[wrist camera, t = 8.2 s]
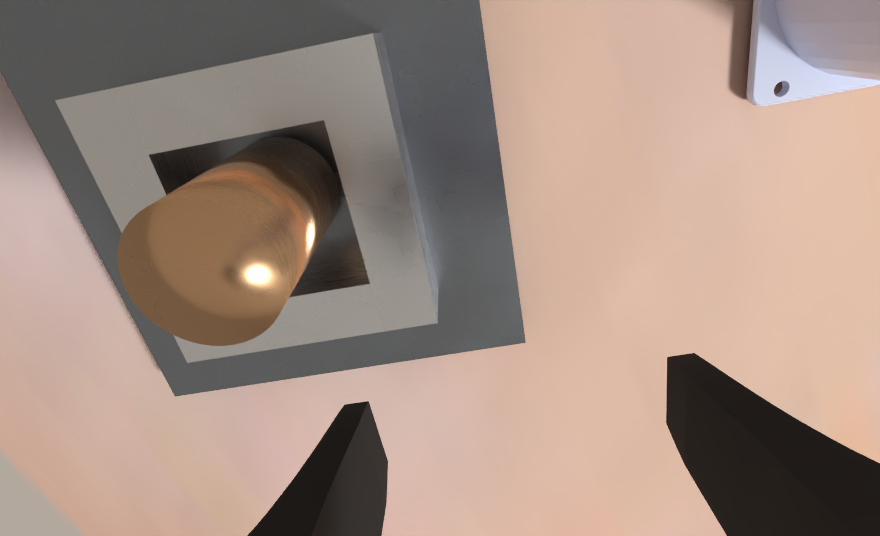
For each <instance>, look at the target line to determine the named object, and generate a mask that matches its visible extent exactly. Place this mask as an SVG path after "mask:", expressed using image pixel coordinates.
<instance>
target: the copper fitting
mask: <svg viewBox="0 0 880 536" xmlns="http://www.w3.org/2000/svg"><path fill="white" fill-rule="evenodd" d="M339 195H340V194H339V186H338V182H337V179H336V176H335V174H334V172H333V170H332V168H331V166H330V165H329V164H328V162H327V161H326V160H325V159H324V158H323V156H322V155H321V154H319V153H318V152H317V151H316V150H315V149H313V148H312V147H310V146H309V145H307V144H305V143H303V142H301V141H298V140H295V139H291V138H287V137H269V138H264V139H261V140H258V141H256V142H254V143H252V144H250V145H249V146H247V147H245V148H244V149H242V150H240V151H239V152H237V153H235V154H234V155H232V156H230V157H229V158H227V159H225V160H224V161H222V162H220V163H219V164H217V165H215V166H214V167H212V168H210V169H209V170H207V171H206V172H204V173H202V174H201V175H199V176H197V177H196V178H194V179H192V180H191V181H189V182H187V183H186V184H184V185H182V186H181V187H179V188H177V189H176V190H174V191H172V192H171V193H169V194H167V195H166V196H164V197H162V198H161V199H159V200H157V201H156V202H154V203H152V204H151V205H149V206H147V207H146V208H144V209H143V210H141V211H140V212H139V213H137V214H136V215H135V216H134V217H133V218H132V219H131V220H130V221H129V223H128V224H127V226H126V227H125V229H124V231H123V233H122V235H121V237H120V241H119V244H118V252H117V261H118V269H119V274H120V277H121V280H122V283H123V285H124V287H125V289H126V291H127V293H128V295H129V296H130V298H131V299H132V301H133V302H134V304H135V305H136V306H137V307H138V308H139V310H140V311H141V312H142V313H143V314H144V315H145V316H146V317H147V318H148V319H150V320H151V321H152V322H153V323H155V324H156V325H157V326H159V327H160V328H162V329H163V330H165V331H167V332H169V333H170V334H172V335H174V336H176V337H179V338H181V339H184V340H187V341H190V342H193V343H198V344H203V345H211V346H228V345H235V344H239V343H243V342H246V341H249V340H251V339H254V338H255V337H257V336H259V335H261V334H262V333H263V332H265V331H266V330H267V329H268V328H269V327H270V326H271V325H272V324H273V323H274V322H275V320H276V319H277V317H278V316H279V314H280V312H281V311H282V309H283V307H284V305H285V304H286V302H287V300H288V298H289V297H290V295H291V293H292V291H293V290H294V288H295V286H296V284H297V283H298V281H299V279H300V277H301V276H302V274H303V272H304V270H305V269H306V267H307V265H308V263H309V262H310V260H311V258H312V256H313V255H314V253H315V251H316V249H317V247H318V246H319V244H320V242H321V240H322V239H323V237H324V235H325V233H326V232H327V230H328V228H329V226H330V225H331V223H332V221H333V219H334V217H335V215H336V213H337V210H338V206H339Z"/></svg>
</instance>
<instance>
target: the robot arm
mask: <svg viewBox="0 0 880 536" xmlns="http://www.w3.org/2000/svg"><path fill="white" fill-rule="evenodd" d="M779 82H782V89H781V91H780V92H779V93H778V94H776V95H775V94H774V88H775V86H776V85H777V84H778V83H779ZM876 85H880V0H754V2H753V15H752V28H751V41H750V54H749V67H748V80H747V92H746V94H747V99H748V101H749V102H750V103H751V104H753V105H757V106H768V105H774V104H779V103H784V102H790V101H795V100H801V99H806V98H811V97H817V96H822V95H827V94H833V93H838V92H844V91H849V90H854V89H860V88H865V87H870V86H876ZM666 423H667V426H668V428H669V430H670V433H671V435H672V437H673V440H674V442H675V444H676V447H677V449H678V451H679V453H680V455H681V458H682V460H683V462H684V464H685V466H686V467H687V469H688V471H689V473H690V474H691V476H692V478H693V480H694V481H695V483H696V485H697V486H698V488H699V490H700V491H701V493H702V495H703V496H704V498H705V500H706V501H707V503H708V505H709V506H710V508H711V510H712V511H713V513H714V515H715V516H716V518H717V520H718V521H719V523H720V525H721V526H722V528H723V530H724V531H725V533H726V535H727V536H880V463H878V462H876V461H874V460H872V459H869V458H867V457H865V456H863V455H861V454H859V453H857V452H855V451H853V450H851V449H849V448H848V447H846V446H844V445H842V444H840V443H838V442H836V441H834V440H832V439H831V438H829V437H827V436H825V435H824V434H822V433H820V432H818V431H817V430H815V429H813V428H811V427H809V426H808V425H806V424H804V423H802V422H801V421H799V420H797V419H796V418H794V417H792V416H791V415H789V414H787V413H786V412H784V411H782V410H781V409H779V408H777V407H776V406H774V405H773V404H771V403H769V402H768V401H766V400H765V399H763V398H761V397H760V396H758V395H757V394H755V393H754V392H752V391H751V390H749V389H748V388H746V387H744V386H743V385H741V384H740V383H738V382H737V381H735V380H734V379H732V378H731V377H729V376H728V375H726V374H725V373H723V372H722V371H720V370H719V369H717V368H716V367H714V366H713V365H711V364H710V363H708V362H707V361H705V360H704V359H702V358H701V357H699V356H698V355H696V354H695V353H692V354H685V355H679V356H672V357H667V415H666ZM387 471H388V460H387V457H386V454H385V451H384V448H383V445H382V442H381V439H380V436H379V432H378V429H377V426H376V423H375V420H374V417H373V414H372V411H371V408H370V404H369V401H367V402H360V403H354V404H347V405H344V406H343V408H342V409H341V410H340V412H339V413H338V415H337V416H336V418H335V419H334V421H333V422H332V424H331V425H330V427H329V428H328V430H327V431H326V433H325V434H324V436H323V437H322V439H321V440H320V442H319V443H318V445H317V446H316V448H315V449H314V451H313V452H312V454H311V455H310V456H309V458H308V459H307V461H306V462H305V464H304V465H303V466H302V468H301V469H300V471H299V472H298V473H297V475H296V476H295V478H294V479H293V480H292V482H291V483H290V484H289V486H288V487H287V488H286V489H285V491H284V492H283V493H282V495H281V496H280V497H279V498H278V500H277V501H276V502H275V504H274V505H273V506H272V508H271V509H270V510H269V511H268V512H267V514H266V515H265V516H264V517H263V518H262V520H261V521H260V522H259V523H258V524H257V526H256V527H255V528H254V529H253V530H252V531H251V532H250V533H249V535H248V536H381V535H382V528H383V521H384V515H385V508H386V498H387Z"/></svg>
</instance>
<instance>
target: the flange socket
mask: <svg viewBox="0 0 880 536" xmlns="http://www.w3.org/2000/svg"><path fill="white" fill-rule="evenodd" d="M0 71H1V73H2V75H3V77H4V79H5V81H6V82H7V84H8V86H9V88H10V90H11V92H12V94H13V95H14V97H15V99H16V101H17V103H18V105H19V107H20V109H21V110H22V112H23V114H24V116H25V118H26V120H27V122H28V123H29V125H30V127H31V129H32V131H33V133H34V135H35V136H36V138H37V140H38V142H39V144H40V146H41V148H42V149H43V151H44V153H45V155H46V157H47V159H48V161H49V163H50V164H51V166H52V168H53V170H54V172H55V174H56V176H57V177H58V179H59V181H60V183H61V185H62V187H63V189H64V190H65V192H66V194H67V196H68V198H69V200H70V202H71V203H72V205H73V207H74V209H75V211H76V213H77V215H78V217H79V218H80V220H81V222H82V224H83V226H84V228H85V230H86V231H87V233H88V235H89V237H90V239H91V241H92V243H93V244H94V246H95V248H96V250H97V252H98V254H99V256H100V257H101V259H102V261H103V263H104V265H105V267H106V269H107V271H108V272H109V274H110V276H111V278H112V280H113V282H114V284H115V285H116V287H117V289H118V291H119V293H120V295H121V297H122V298H123V300H124V302H125V304H126V306H127V308H128V310H129V311H130V313H131V315H132V317H133V319H134V321H135V323H136V325H137V326H138V328H139V330H140V332H141V334H142V336H143V338H144V339H145V341H146V343H147V345H148V347H149V349H150V351H151V352H152V354H153V356H154V358H155V360H156V362H157V364H158V365H159V367H160V369H161V371H162V373H163V375H164V377H165V379H166V380H167V382H168V384H169V386H170V388H171V390H172V392H173V393H174V395H175V396H181V395H187V394H194V393H200V392H207V391H213V390H220V389H226V388H233V387H239V386H246V385H252V384H259V383H265V382H272V381H278V380H285V379H291V378H298V377H304V376H311V375H317V374H324V373H330V372H337V371H343V370H350V369H356V368H363V367H369V366H376V365H382V364H389V363H395V362H402V361H408V360H415V359H422V358H428V357H435V356H441V355H448V354H454V353H461V352H467V351H474V350H480V349H487V348H493V347H500V346H506V345H513V344H519V343H526V342H525V335H524V328H523V320H522V313H521V306H520V298H519V291H518V283H517V276H516V269H515V261H514V254H513V247H512V239H511V232H510V225H509V217H508V210H507V202H506V195H505V188H504V180H503V173H502V166H501V158H500V151H499V143H498V136H497V129H496V121H495V114H494V107H493V99H492V92H491V84H490V77H489V70H488V62H487V55H486V48H485V40H484V33H483V25H482V18H481V11H480V3H479V0H0ZM269 137H287V138H291V139H295V140H298V141H301V142H303V143H305V144H307V145H309V146H310V147H312V148H313V149H315V150H316V151H317V152H318V153H319V154H321V155H322V156H323V158H324V159H325V160H326V161H327V162H328V164H329V165H330V166H331V168H332V170H333V172H334V174H335V176H336V179H337V182H338V186H339V194H340V195H339V206H338V210H337V213H336V215H335V217H334V219H333V221H332V223H331V225H330V226H329V228H328V230H327V232H326V233H325V235H324V237H323V239H322V240H321V242H320V244H319V246H318V247H317V249H316V251H315V253H314V255H313V256H312V258H311V260H310V262H309V263H308V265H307V267H306V269H305V270H304V272H303V274H302V276H301V277H300V279H299V281H298V283H297V284H296V286H295V288H294V290H293V291H292V293H291V295H290V297H289V298H288V300H287V302H286V304H285V305H284V307H283V309H282V311H281V312H280V314H279V316H278V317H277V319H276V320H275V322H274V323H273V324H272V325H271V326H270V327H269V328H268V329H267V330H266V331H265V332H263V333H262V334H261V335H259V336H257V337H255V338H254V339H251V340H249V341H246V342H243V343H239V344H235V345H228V346H211V345H203V344H198V343H193V342H190V341H187V340H184V339H181V338H179V337H176V336H174V335H172V334H170V333H169V332H167V331H165V330H163V329H162V328H160V327H159V326H157V325H156V324H155V323H153V322H152V321H151V320H150V319H148V318H147V317H146V316H145V315H144V314H143V313H142V312H141V311H140V310H139V308H138V307H137V306H136V305H135V304H134V302H133V301H132V299H131V298H130V296H129V295H128V293H127V291H126V289H125V287H124V285H123V283H122V280H121V277H120V274H119V269H118V261H117V252H118V244H119V241H120V237H121V235H122V233H123V231H124V229H125V227H126V226H127V224H128V223H129V221H130V220H131V219H132V218H133V217H134V216H135V215H136V214H137V213H139V212H140V211H141V210H143V209H144V208H146V207H147V206H149V205H151V204H152V203H154V202H156V201H157V200H159V199H161V198H162V197H164V196H166V195H167V194H169V193H171V192H172V191H174V190H176V189H177V188H179V187H181V186H182V185H184V184H186V183H187V182H189V181H191V180H192V179H194V178H196V177H197V176H199V175H201V174H202V173H204V172H206V171H207V170H209V169H210V168H212V167H214V166H215V165H217V164H219V163H220V162H222V161H224V160H225V159H227V158H229V157H230V156H232V155H234V154H235V153H237V152H239V151H240V150H242V149H244V148H245V147H247V146H249V145H250V144H252V143H254V142H256V141H258V140H261V139H264V138H269Z"/></svg>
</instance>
